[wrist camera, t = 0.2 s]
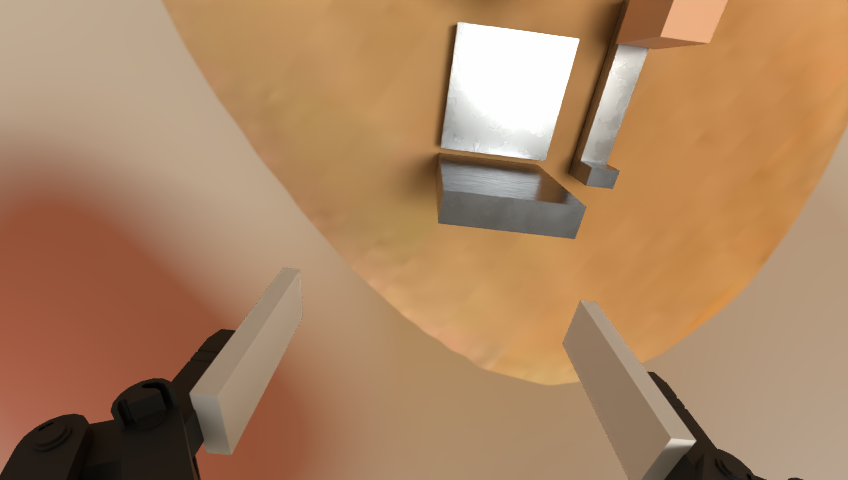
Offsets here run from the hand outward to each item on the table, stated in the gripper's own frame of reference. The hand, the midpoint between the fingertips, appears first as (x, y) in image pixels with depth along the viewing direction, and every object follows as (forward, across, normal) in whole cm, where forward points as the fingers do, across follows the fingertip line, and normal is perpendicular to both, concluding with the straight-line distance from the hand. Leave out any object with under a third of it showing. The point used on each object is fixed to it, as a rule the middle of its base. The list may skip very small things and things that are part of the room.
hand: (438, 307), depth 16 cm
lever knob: (+25, +18, +17) cm, 35 cm away
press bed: (+27, +7, +6) cm, 29 cm away
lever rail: (+28, +18, +10) cm, 35 cm away
